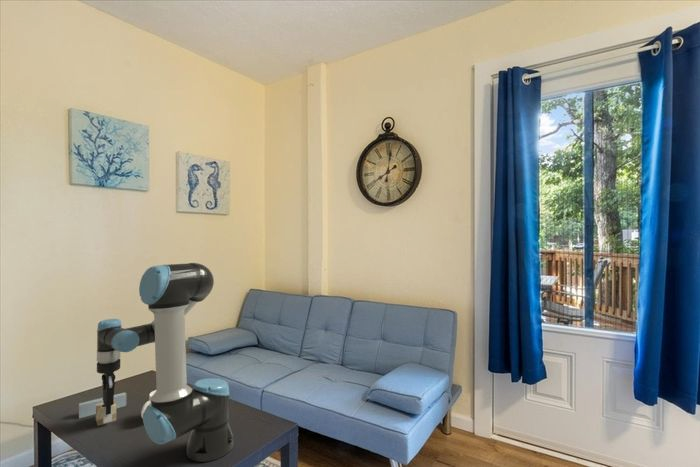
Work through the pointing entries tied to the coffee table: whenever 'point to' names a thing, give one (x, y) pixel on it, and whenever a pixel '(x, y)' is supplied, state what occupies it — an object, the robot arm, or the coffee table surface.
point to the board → (90, 406)
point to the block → (100, 413)
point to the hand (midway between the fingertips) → (107, 421)
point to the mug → (147, 403)
